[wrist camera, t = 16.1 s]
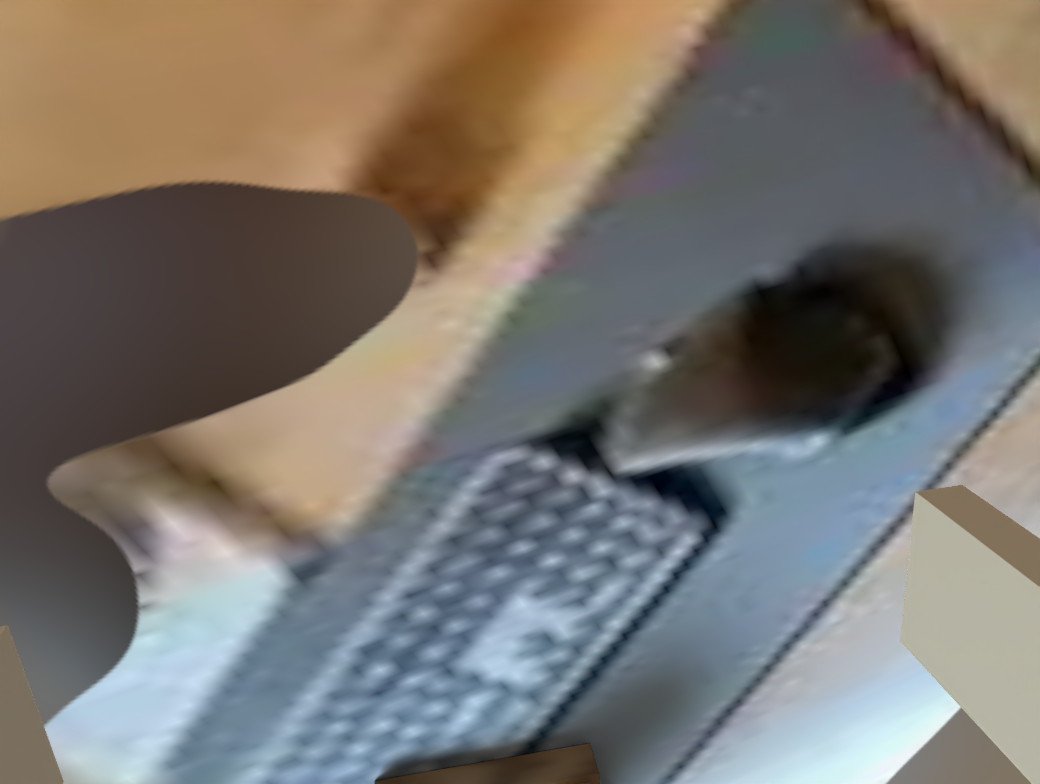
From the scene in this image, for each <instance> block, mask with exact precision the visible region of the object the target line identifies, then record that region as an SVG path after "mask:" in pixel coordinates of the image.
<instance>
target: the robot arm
mask: <svg viewBox="0 0 1040 784" xmlns="http://www.w3.org/2000/svg"><path fill="white" fill-rule="evenodd" d="M900 642H901V643H902V644H903V645H904V646H905V647H906V648H907V649H908V650H909V651H910V652H911V653H912V655H913V656H914V657H915V658H916V659H917V660H918V661H919V662H920V663H921V664H922V665H923V666H924V668H925V669H926V670H927V671H928V672H929V673H930V674H931V675H932V676H933V677H934V678H935V679H936V681H937V682H938V683H939V684H940V685H941V686H942V687H943V688H944V689H945V690H946V691H947V692H948V694H949V695H950V696H951V697H952V698H953V699H954V700H955V701H956V702H957V703H958V704H959V705H960V707H961V708H962V709H963V710H964V711H965V712H966V713H967V714H968V715H969V716H970V717H971V718H972V719H973V721H974V722H976V724H977V725H978V726H979V727H980V728H981V729H982V730H983V731H984V732H985V734H986V735H987V736H988V737H989V738H990V739H991V740H992V741H993V742H994V743H995V744H996V745H997V747H998V748H999V749H1000V750H1001V751H1002V752H1003V753H1004V754H1005V755H1006V756H1007V757H1008V758H1009V760H1010V761H1011V762H1012V763H1013V764H1014V765H1015V766H1016V767H1017V768H1018V769H1019V770H1020V772H1021V773H1022V774H1023V775H1024V776H1025V777H1026V778H1027V779H1028V780H1029V781H1030V782H1031V783H1032V784H1040V539H1039V538H1038V537H1036V536H1035V535H1033V534H1032V533H1031V532H1029V531H1028V530H1026V529H1025V528H1023V527H1022V526H1021V525H1019V524H1018V523H1016V522H1015V521H1013V520H1012V519H1010V518H1009V517H1008V516H1006V515H1005V514H1003V513H1002V512H1000V511H999V510H997V509H996V508H995V507H993V506H992V505H990V504H989V503H987V502H986V501H984V500H983V499H982V498H980V497H979V496H977V495H976V494H974V493H973V492H971V491H970V490H969V489H967V488H966V487H964V486H963V485H959V486H952V487H946V488H939V489H932V490H925V491H919V492H915V502H914V512H913V521H912V531H911V541H910V551H909V560H908V570H907V580H906V590H905V599H904V609H903V619H902V628H901V638H900ZM63 782H64V781H63V779H62V776H61V773H60V770H59V767H58V765H57V762H56V759H55V756H54V754H53V751H52V748H51V745H50V742H49V740H48V737H47V734H46V731H45V728H44V726H43V723H42V720H41V717H40V714H39V712H38V709H37V706H36V703H35V700H34V698H33V695H32V692H31V689H30V687H29V684H28V681H27V678H26V675H25V672H24V670H23V667H22V665H21V661H20V658H19V656H18V653H17V650H16V647H15V645H14V642H13V639H12V636H11V633H10V631H9V628H8V626H2V627H0V784H63Z"/></svg>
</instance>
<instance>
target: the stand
mask: <svg viewBox="0 0 1040 784" xmlns="http://www.w3.org/2000/svg"><path fill="white" fill-rule="evenodd" d="M375 784H600V783H599V772H598V769H597V766H596V762H595V759H594V756H593V753H592V749H591V746H590V743H588V744H583V745H577V746H571V747H566V748H560V749H554V750H549V751H543V752H537V753H532V754H526V755H520V756H514V757H509V758H503V759H497V760H492V761H486V762H480V763H475V764H469V765H463V766H458V767H452V768H446V769H440V770H435V771H429V772H423V773H418V774H412V775H406V776H401V777H395V778H389V779H383V780H378V781H375Z"/></svg>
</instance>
